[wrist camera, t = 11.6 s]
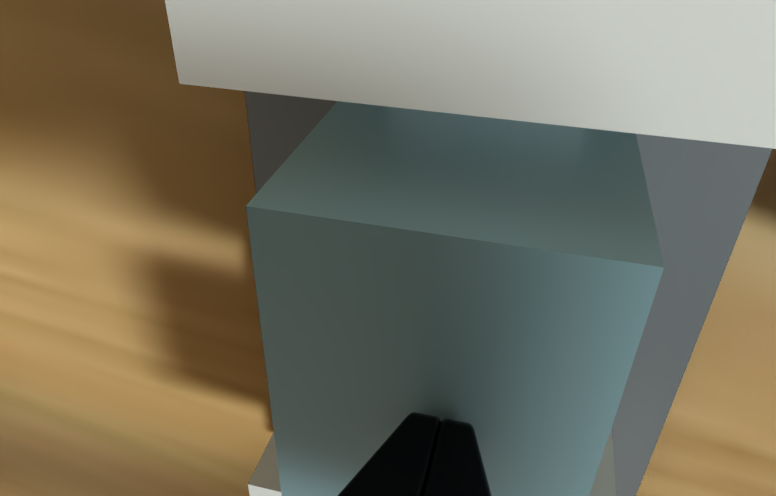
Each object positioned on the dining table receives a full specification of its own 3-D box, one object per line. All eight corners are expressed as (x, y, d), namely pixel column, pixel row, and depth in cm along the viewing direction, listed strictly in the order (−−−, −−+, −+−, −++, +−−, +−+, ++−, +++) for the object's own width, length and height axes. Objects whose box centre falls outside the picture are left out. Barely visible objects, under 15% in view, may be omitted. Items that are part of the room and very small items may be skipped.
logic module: (564, 360, 14) (561, 580, 10) (363, 324, 15) (283, 512, 11) (629, 98, 10) (664, 267, 6) (363, 72, 11) (245, 205, 7)
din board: (615, 510, 19) (629, 734, 14) (298, 440, 20) (217, 618, 16) (992, -497, 7) (1689, -1047, 3) (215, -446, 9) (-138, -722, 5)
